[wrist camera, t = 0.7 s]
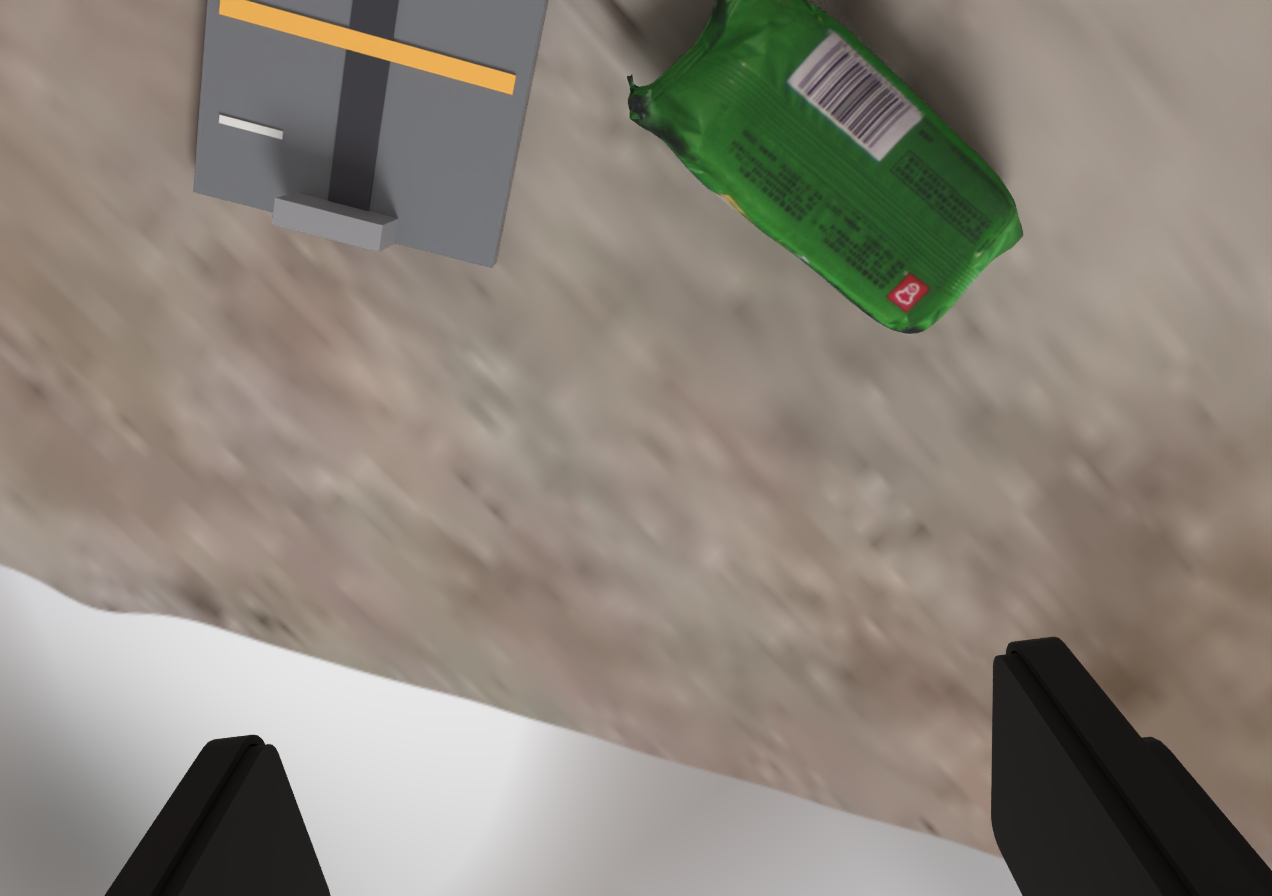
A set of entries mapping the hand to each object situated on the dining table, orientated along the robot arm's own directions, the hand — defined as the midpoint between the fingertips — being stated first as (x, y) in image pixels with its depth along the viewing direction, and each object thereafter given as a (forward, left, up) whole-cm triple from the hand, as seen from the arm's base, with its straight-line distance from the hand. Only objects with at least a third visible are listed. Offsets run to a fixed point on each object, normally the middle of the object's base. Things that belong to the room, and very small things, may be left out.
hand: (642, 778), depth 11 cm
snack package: (-8, +6, -28) cm, 30 cm away
